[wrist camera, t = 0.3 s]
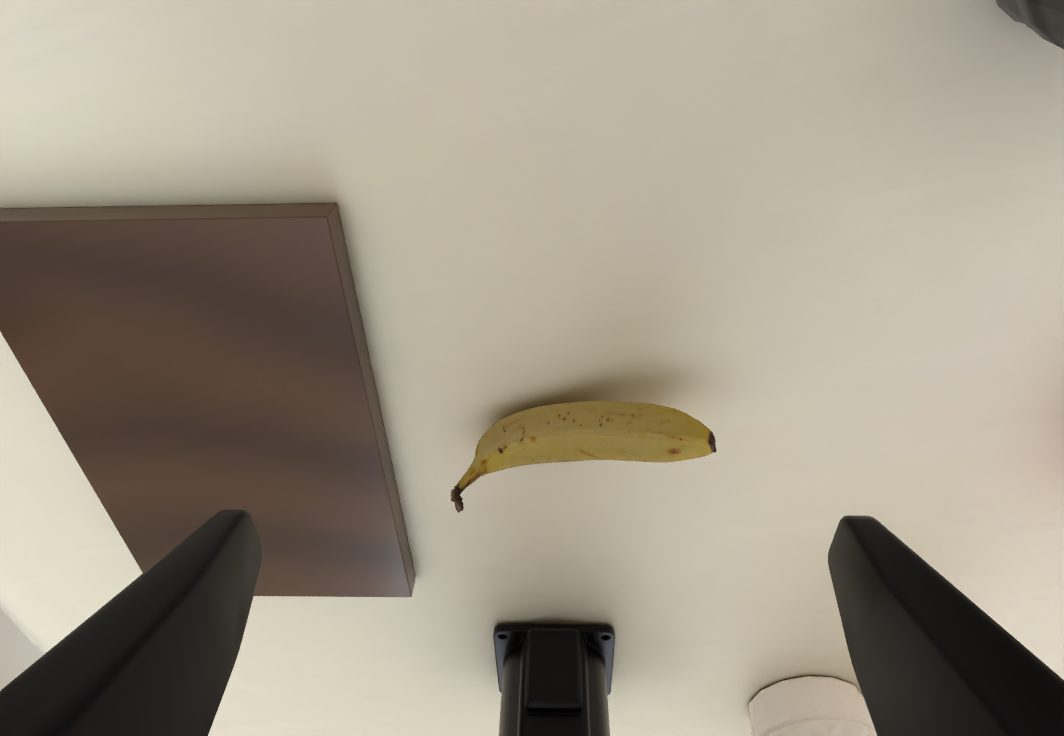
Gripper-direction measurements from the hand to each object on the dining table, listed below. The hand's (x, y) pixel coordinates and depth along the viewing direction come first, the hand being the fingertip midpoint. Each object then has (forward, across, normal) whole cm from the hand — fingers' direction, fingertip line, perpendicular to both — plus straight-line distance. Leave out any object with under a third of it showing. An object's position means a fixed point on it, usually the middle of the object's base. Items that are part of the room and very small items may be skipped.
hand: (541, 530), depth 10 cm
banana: (+14, -1, +9) cm, 17 cm away
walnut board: (+14, +14, +10) cm, 22 cm away
